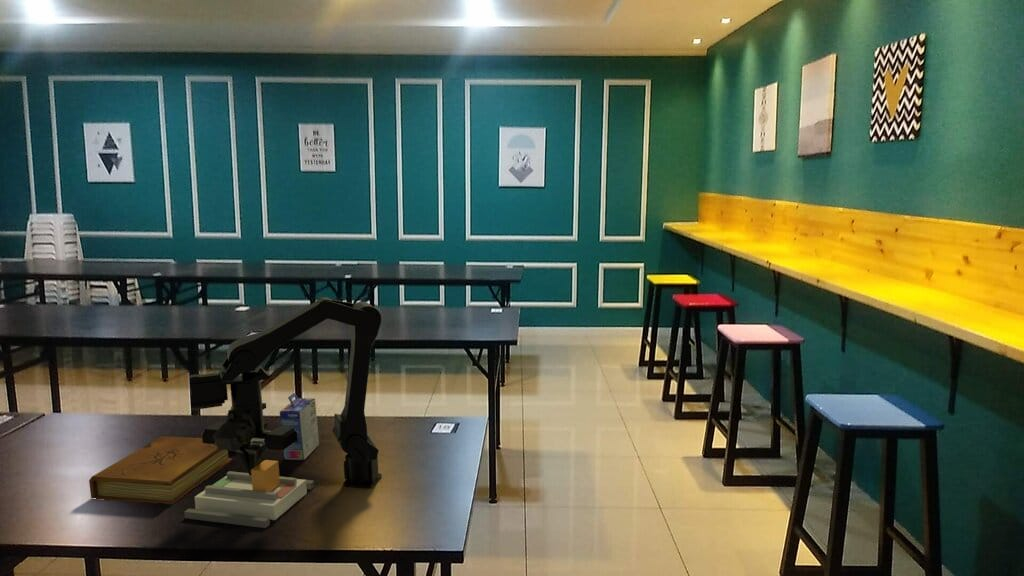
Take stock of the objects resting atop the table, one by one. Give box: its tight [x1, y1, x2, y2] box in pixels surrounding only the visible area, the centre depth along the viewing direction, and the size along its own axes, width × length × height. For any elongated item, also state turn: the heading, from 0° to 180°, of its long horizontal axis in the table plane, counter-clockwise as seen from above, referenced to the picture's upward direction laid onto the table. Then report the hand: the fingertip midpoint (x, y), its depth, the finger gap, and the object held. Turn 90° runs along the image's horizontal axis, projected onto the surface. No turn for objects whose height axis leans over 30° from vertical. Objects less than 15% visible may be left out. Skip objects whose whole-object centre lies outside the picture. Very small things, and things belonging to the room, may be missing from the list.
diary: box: [88, 435, 233, 505], centre depth 158 cm, size 23×19×6 cm
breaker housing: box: [194, 470, 308, 521], centre depth 146 cm, size 18×12×4 cm, turn 76°
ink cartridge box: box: [279, 392, 320, 461], centre depth 171 cm, size 10×6×14 cm, turn 174°
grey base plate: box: [183, 478, 315, 529], centre depth 146 cm, size 18×18×1 cm
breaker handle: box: [251, 459, 280, 492], centre depth 144 cm, size 3×5×5 cm, turn 166°
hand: (252, 474), depth 145 cm, fingers closed
